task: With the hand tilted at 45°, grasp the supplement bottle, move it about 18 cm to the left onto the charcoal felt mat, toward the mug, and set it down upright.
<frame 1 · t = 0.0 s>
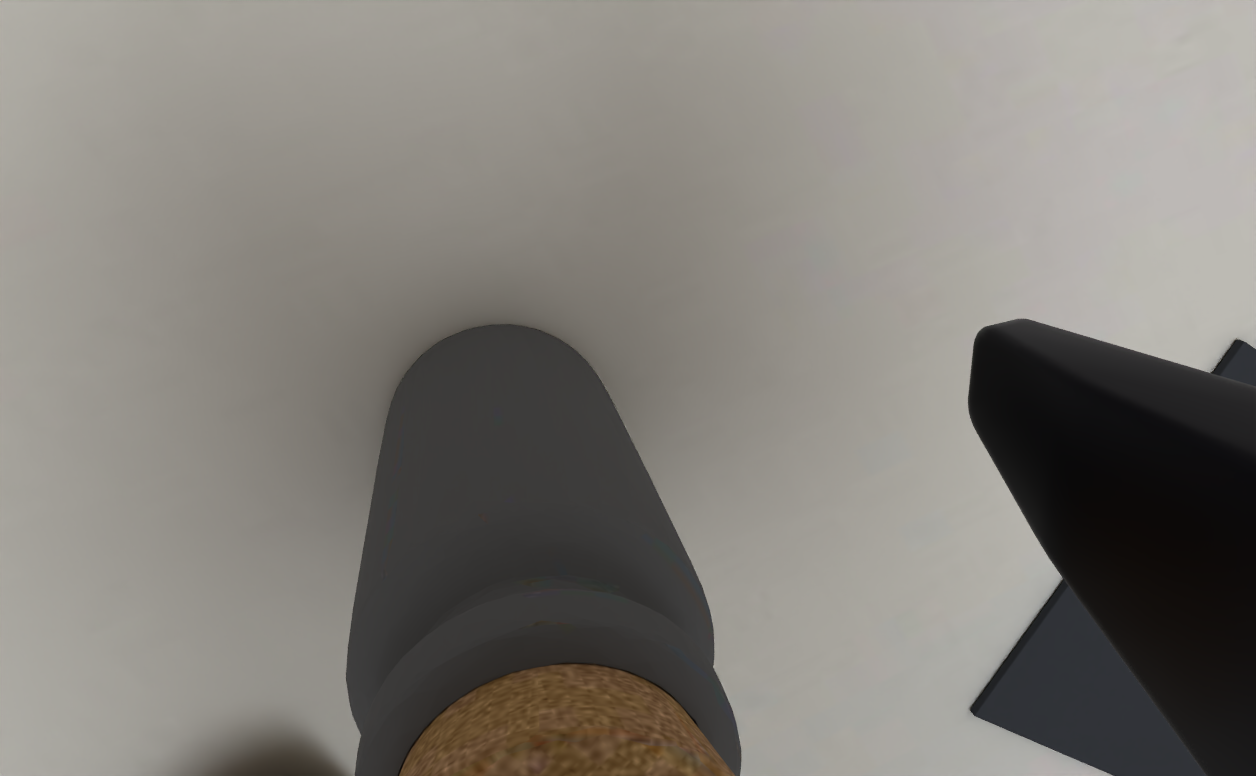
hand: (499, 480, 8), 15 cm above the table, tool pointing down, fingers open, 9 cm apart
mat: (1224, 601, 31), on the table
bottle: (501, 427, 25), on the table
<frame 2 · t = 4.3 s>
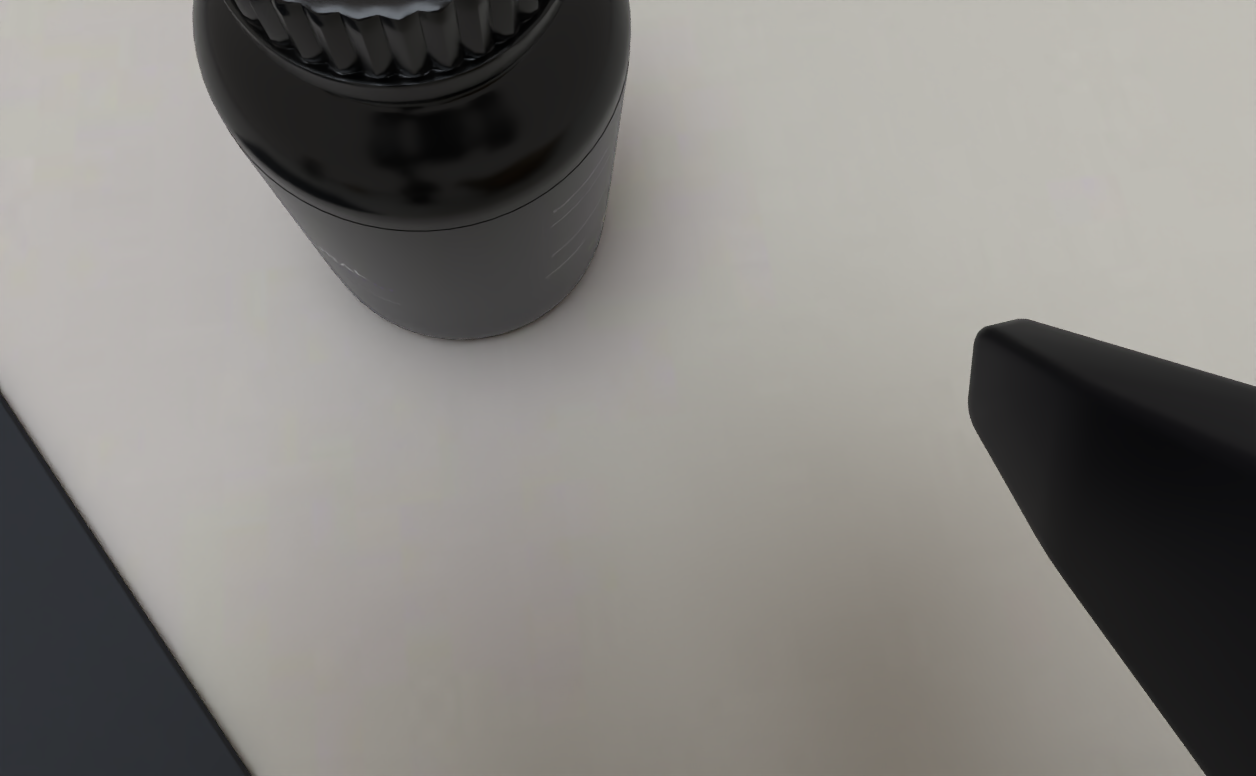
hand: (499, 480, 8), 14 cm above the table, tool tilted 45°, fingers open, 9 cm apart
supplement bottle: (467, 215, 23), on the table
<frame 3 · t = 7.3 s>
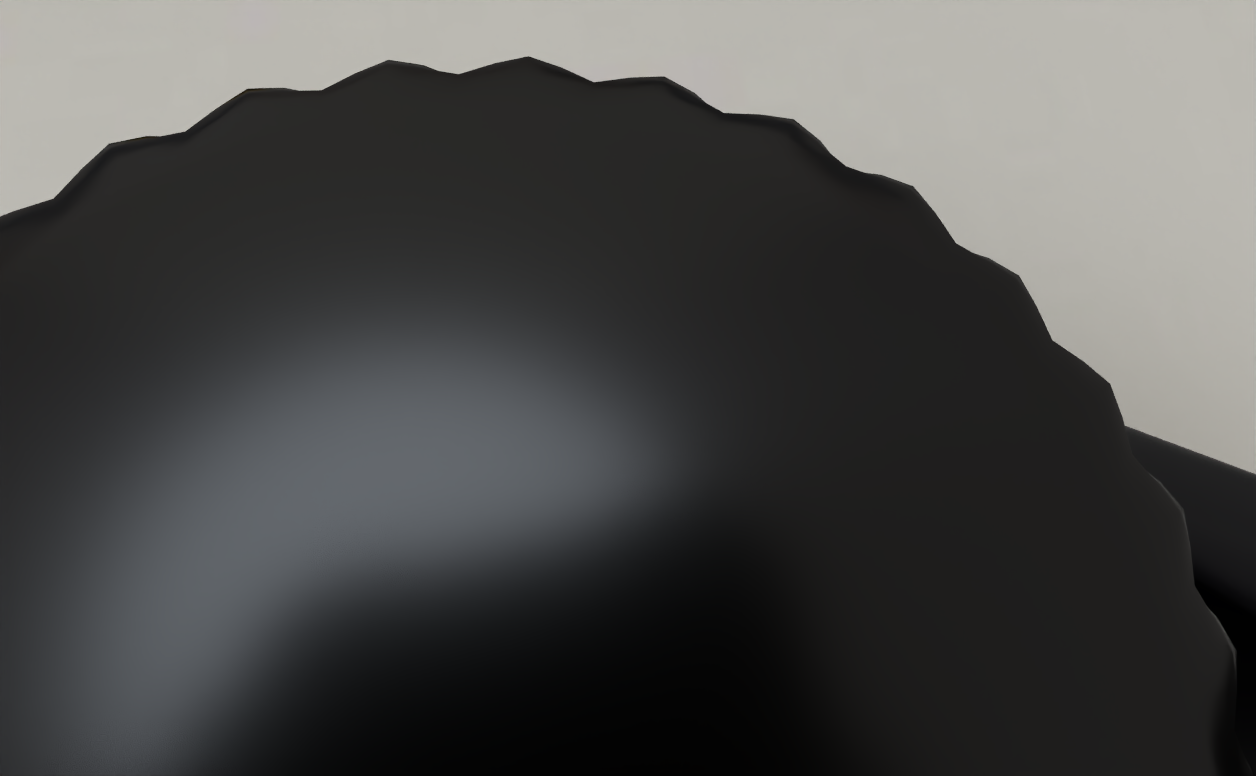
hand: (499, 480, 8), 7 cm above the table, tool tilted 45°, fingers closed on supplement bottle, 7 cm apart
supplement bottle: (544, 612, 15), on the table, touching gripper
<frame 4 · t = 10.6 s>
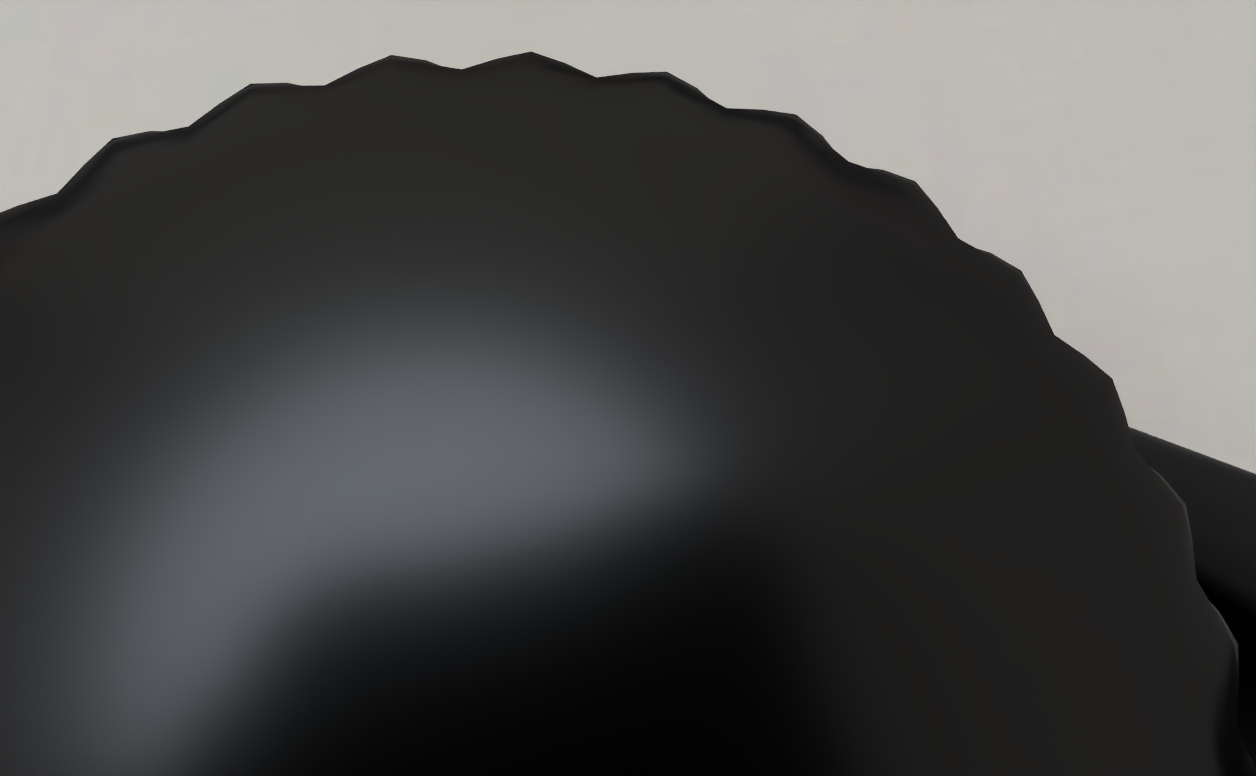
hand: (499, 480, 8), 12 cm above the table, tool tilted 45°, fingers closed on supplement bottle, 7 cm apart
supplement bottle: (545, 611, 15), point 5 cm above the table, touching gripper
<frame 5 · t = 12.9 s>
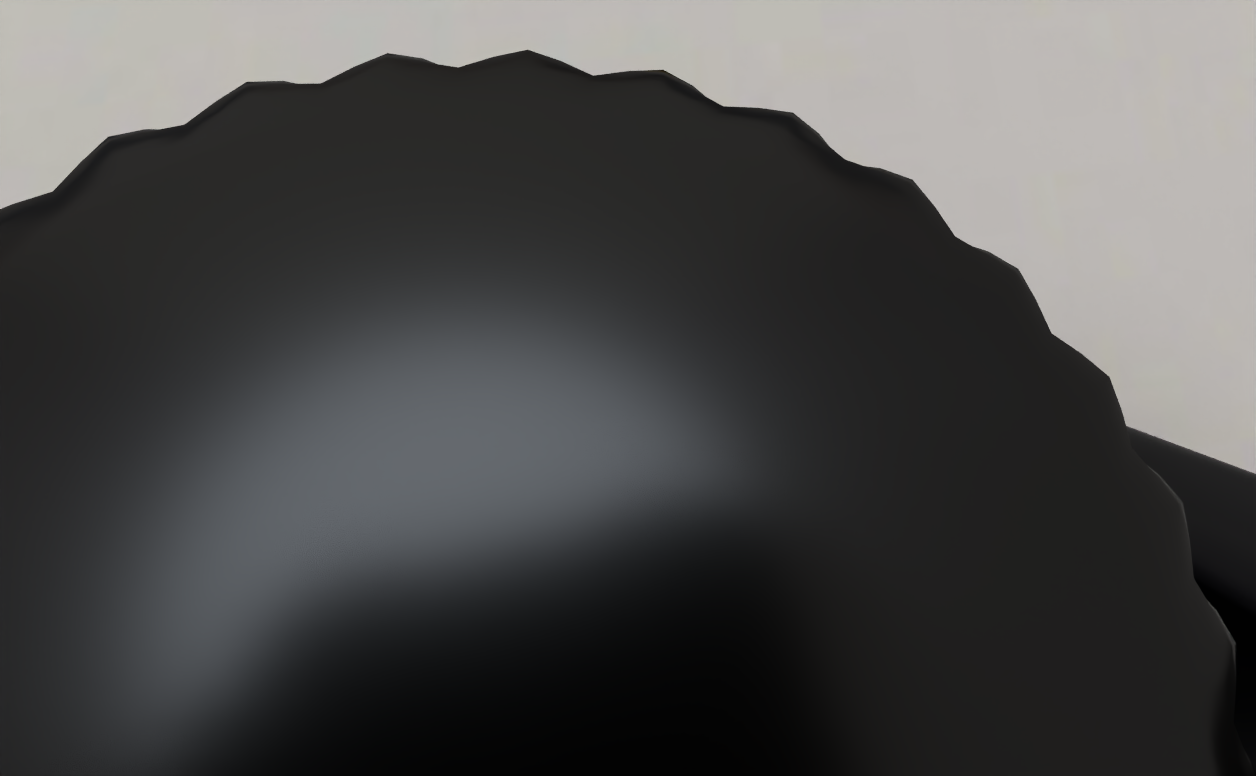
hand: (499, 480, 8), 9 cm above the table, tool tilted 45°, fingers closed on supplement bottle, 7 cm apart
supplement bottle: (544, 611, 15), point 2 cm above the table, touching gripper
when the fingers open (7 cm above the table, at t = 14.2 s): supplement bottle stays where it is, resting on mat.
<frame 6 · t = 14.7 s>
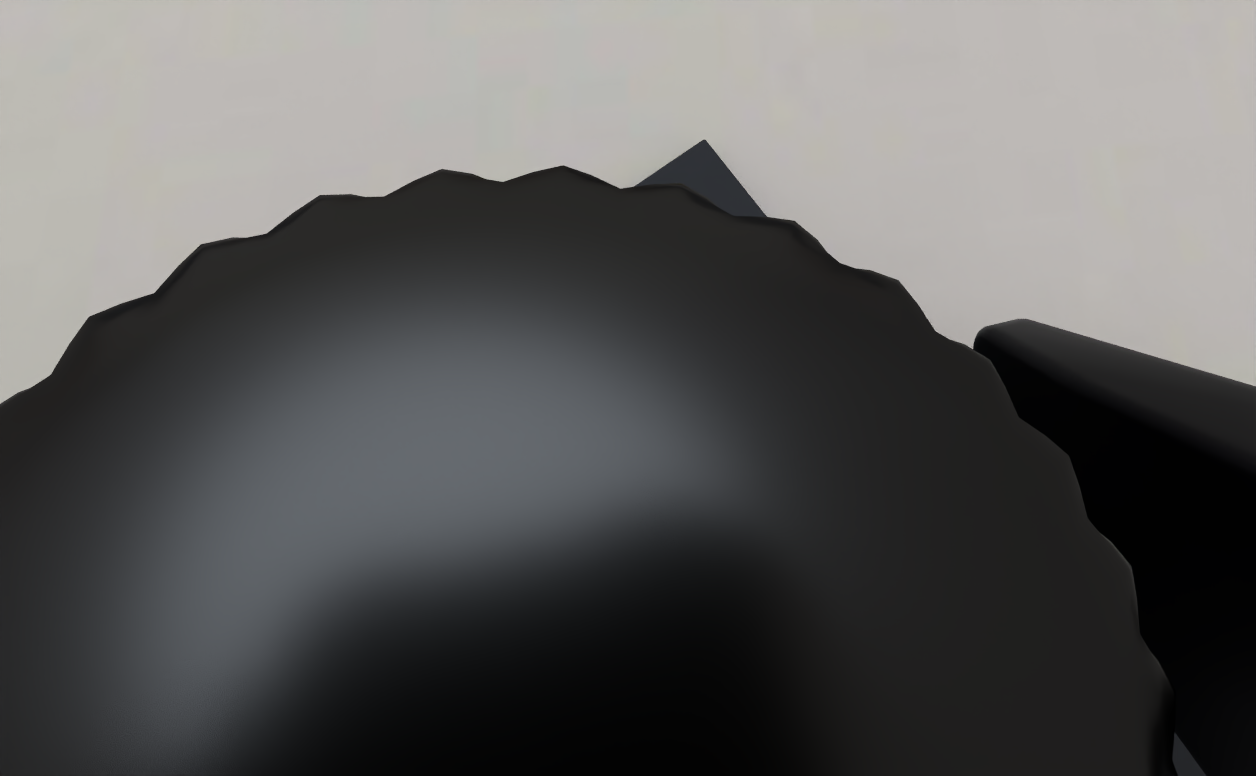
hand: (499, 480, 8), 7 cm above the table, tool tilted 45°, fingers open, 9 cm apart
mat: (673, 675, 15), on the table
supplement bottle: (551, 622, 15), resting on mat
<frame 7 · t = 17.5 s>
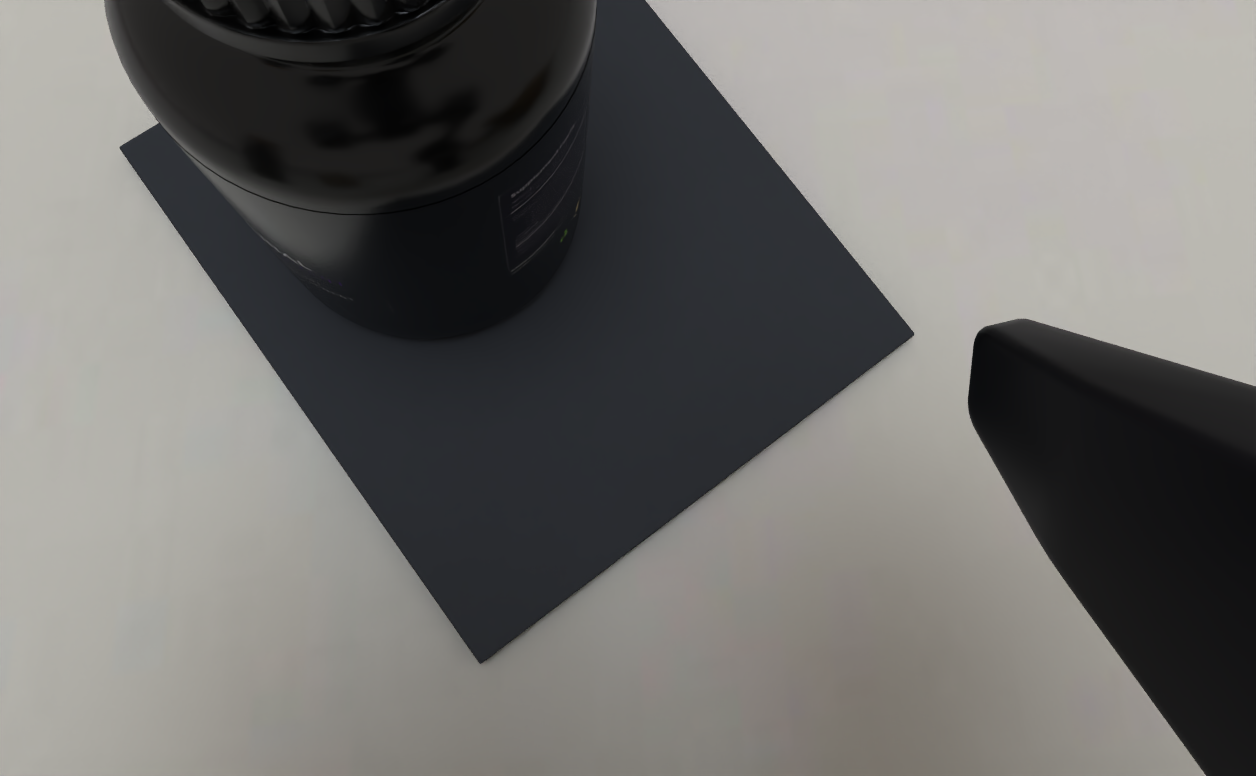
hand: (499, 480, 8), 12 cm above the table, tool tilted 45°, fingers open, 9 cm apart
mat: (520, 245, 21), on the table
supplement bottle: (434, 206, 21), resting on mat
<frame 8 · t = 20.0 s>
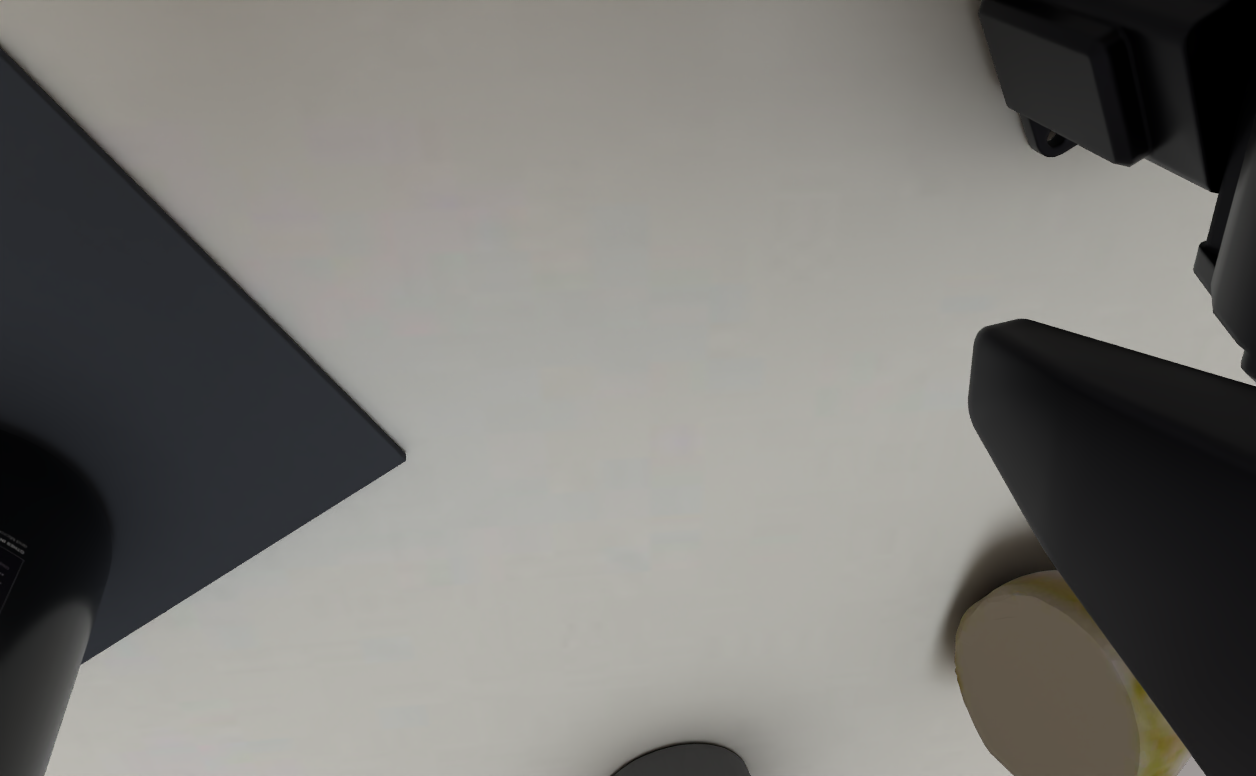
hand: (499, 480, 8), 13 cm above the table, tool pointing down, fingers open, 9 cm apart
mug: (1075, 584, 33), on the table
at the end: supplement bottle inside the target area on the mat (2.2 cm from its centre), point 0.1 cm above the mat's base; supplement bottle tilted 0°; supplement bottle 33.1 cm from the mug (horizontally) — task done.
